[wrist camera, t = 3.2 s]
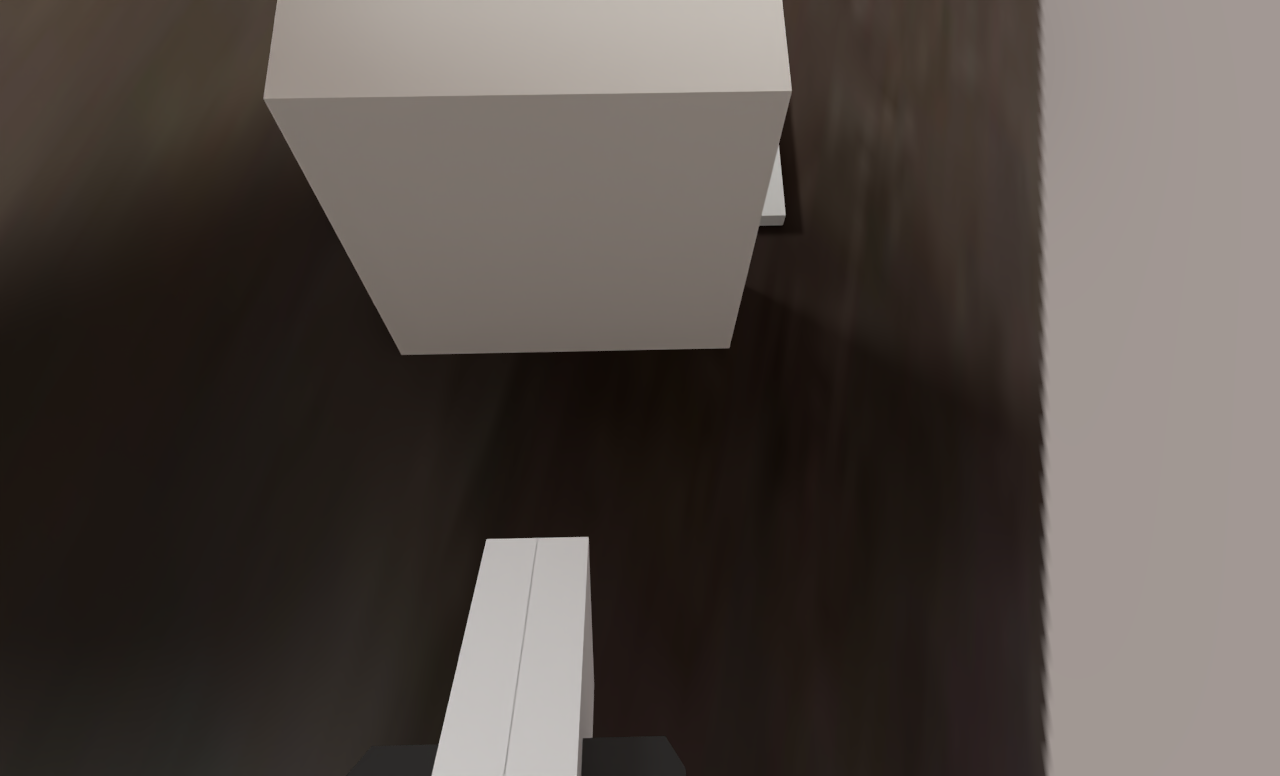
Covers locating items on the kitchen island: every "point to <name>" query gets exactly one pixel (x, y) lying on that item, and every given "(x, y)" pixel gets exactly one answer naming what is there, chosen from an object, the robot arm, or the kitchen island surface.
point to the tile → (538, 162)
